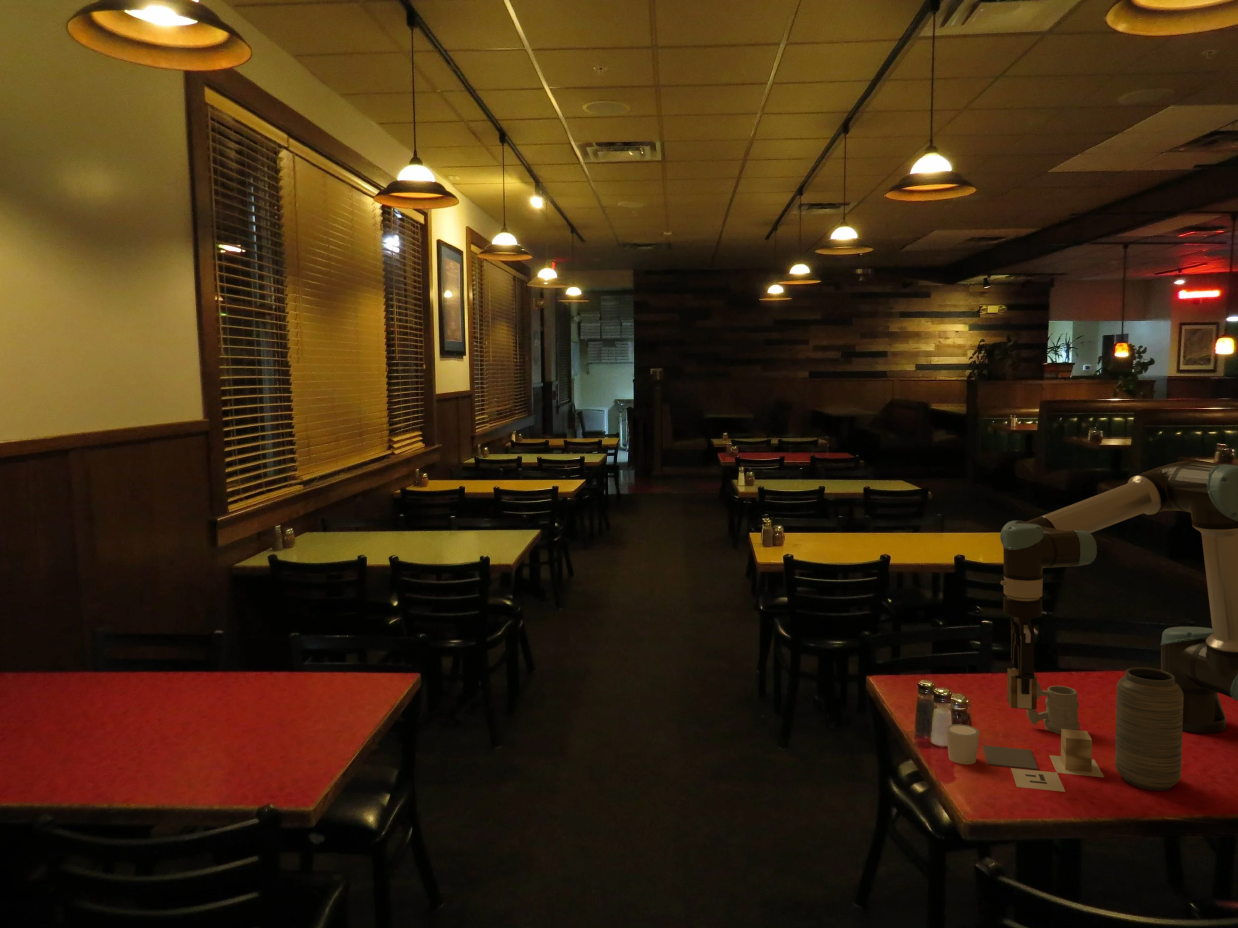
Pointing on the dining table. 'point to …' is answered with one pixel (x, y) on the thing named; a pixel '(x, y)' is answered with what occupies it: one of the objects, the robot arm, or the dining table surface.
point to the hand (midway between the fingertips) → (1021, 702)
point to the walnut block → (1013, 689)
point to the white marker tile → (1037, 779)
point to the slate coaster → (1010, 757)
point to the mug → (1057, 709)
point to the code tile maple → (1060, 769)
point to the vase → (1149, 729)
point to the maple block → (1076, 750)
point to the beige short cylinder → (962, 743)
